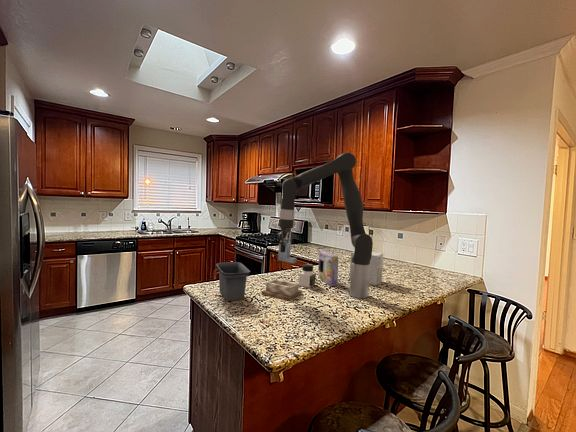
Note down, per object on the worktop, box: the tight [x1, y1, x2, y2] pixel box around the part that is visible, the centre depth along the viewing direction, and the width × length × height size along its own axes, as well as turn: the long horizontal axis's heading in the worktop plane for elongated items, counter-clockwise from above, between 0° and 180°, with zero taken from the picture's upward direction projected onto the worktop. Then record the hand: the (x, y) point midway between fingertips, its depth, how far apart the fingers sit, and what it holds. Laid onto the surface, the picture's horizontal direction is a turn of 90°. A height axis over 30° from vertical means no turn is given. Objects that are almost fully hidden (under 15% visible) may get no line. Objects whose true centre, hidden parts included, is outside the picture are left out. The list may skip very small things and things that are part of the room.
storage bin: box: [213, 261, 251, 302], centre depth 145 cm, size 21×16×14 cm
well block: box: [261, 278, 303, 302], centre depth 152 cm, size 16×14×6 cm
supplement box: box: [349, 251, 384, 286], centre depth 185 cm, size 17×13×18 cm
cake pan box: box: [317, 250, 339, 287], centre depth 179 cm, size 19×5×18 cm, turn 17°
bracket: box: [277, 241, 298, 264], centre depth 150 cm, size 9×4×10 cm, turn 62°
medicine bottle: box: [298, 263, 317, 289], centre depth 170 cm, size 7×7×12 cm
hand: (284, 251), depth 151 cm, fingers closed on bracket, 3 cm apart
